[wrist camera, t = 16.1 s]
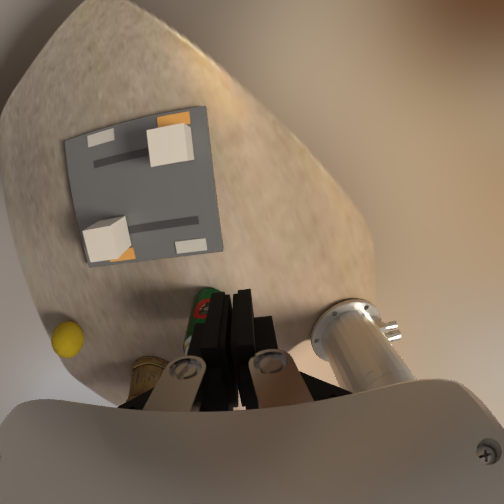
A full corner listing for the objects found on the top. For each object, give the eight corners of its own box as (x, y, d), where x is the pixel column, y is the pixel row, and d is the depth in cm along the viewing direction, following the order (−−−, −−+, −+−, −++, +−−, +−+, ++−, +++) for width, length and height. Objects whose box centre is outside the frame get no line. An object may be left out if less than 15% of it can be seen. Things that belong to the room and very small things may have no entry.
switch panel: (206, 107, 31) (205, 105, 29) (223, 247, 37) (223, 251, 36) (70, 141, 30) (63, 141, 29) (93, 263, 37) (88, 268, 35)
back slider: (125, 215, 33) (110, 225, 28) (131, 245, 34) (117, 258, 30) (99, 220, 33) (82, 230, 28) (106, 248, 34) (90, 262, 30)
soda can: (186, 298, 40) (172, 350, 28) (213, 279, 39) (207, 330, 28) (208, 321, 41) (202, 377, 30) (235, 305, 40) (236, 359, 29)
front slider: (190, 127, 30) (183, 122, 25) (194, 159, 31) (187, 160, 27) (158, 133, 30) (146, 130, 25) (162, 164, 31) (150, 167, 27)
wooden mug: (106, 368, 44) (75, 442, 27) (160, 350, 43) (136, 437, 26) (135, 398, 47) (115, 470, 30) (189, 383, 46) (179, 467, 29)
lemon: (94, 339, 41) (77, 368, 34) (70, 337, 41) (51, 364, 34) (85, 313, 39) (64, 341, 32) (61, 311, 39) (39, 337, 32)
